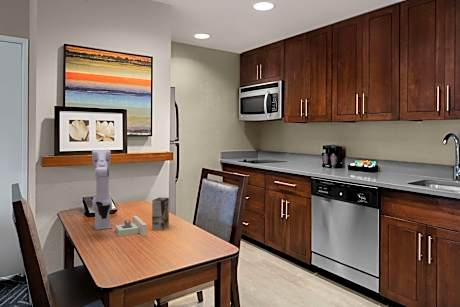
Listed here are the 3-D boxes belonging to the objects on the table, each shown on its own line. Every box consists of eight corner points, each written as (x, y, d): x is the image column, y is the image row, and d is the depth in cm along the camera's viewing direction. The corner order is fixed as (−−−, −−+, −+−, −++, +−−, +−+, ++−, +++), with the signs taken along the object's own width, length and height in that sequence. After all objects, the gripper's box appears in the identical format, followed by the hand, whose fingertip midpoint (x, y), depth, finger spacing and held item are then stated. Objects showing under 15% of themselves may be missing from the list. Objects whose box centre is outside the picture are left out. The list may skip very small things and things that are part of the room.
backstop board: (132, 226, 182) (132, 216, 182) (136, 226, 183) (136, 215, 183) (142, 236, 165) (142, 224, 165) (146, 236, 166) (146, 224, 166)
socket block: (115, 231, 174) (115, 225, 174) (134, 228, 179) (134, 223, 179) (119, 236, 165) (119, 230, 165) (139, 233, 170) (139, 227, 170)
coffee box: (162, 230, 176) (162, 200, 175) (151, 229, 177) (151, 200, 176) (169, 225, 185) (169, 197, 184) (158, 225, 186) (158, 197, 185)
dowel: (123, 231, 173) (123, 220, 172) (129, 231, 174) (129, 219, 174) (125, 233, 170) (125, 222, 170) (131, 232, 172) (131, 221, 171)
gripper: (91, 188, 170) (92, 214, 171) (96, 193, 157) (96, 221, 158) (106, 187, 173) (106, 213, 174) (111, 192, 161) (111, 219, 162)
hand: (102, 216), depth 166 cm, fingers open, 7 cm apart
